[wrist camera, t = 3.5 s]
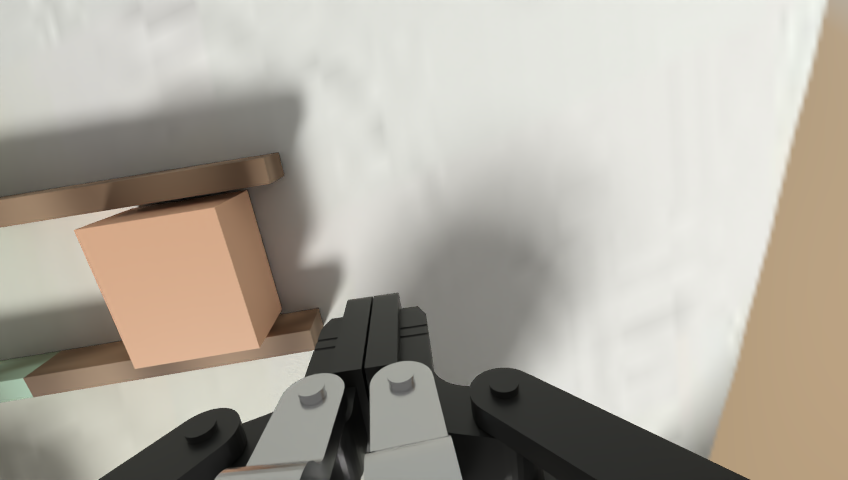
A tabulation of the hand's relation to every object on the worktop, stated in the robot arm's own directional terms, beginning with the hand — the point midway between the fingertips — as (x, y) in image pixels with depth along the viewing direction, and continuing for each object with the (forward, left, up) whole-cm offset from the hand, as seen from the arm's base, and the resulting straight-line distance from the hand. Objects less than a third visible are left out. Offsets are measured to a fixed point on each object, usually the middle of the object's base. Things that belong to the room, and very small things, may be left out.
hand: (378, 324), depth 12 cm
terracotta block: (+10, 0, -11) cm, 15 cm away
